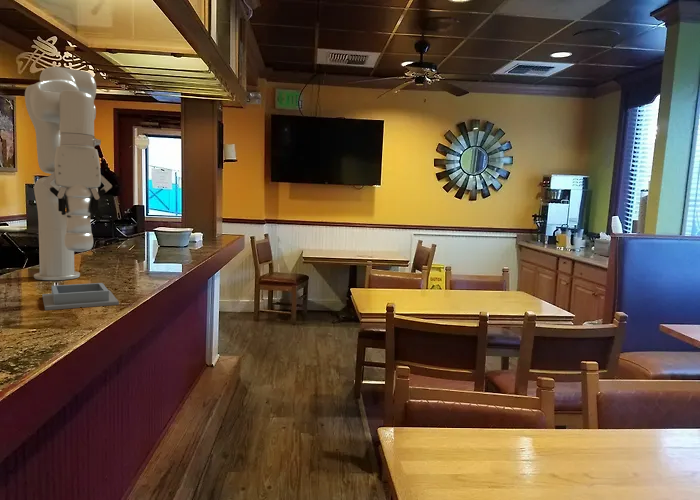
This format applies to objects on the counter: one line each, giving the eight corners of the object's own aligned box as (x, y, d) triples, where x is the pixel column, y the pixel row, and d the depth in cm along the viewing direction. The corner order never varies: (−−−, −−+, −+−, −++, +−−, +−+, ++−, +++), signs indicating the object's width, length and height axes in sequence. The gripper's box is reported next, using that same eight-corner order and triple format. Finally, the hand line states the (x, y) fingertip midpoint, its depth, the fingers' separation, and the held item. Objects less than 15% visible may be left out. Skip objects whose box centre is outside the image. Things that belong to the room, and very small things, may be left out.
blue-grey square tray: (42, 297, 132) (42, 284, 132) (109, 292, 141) (109, 281, 140) (45, 310, 119) (44, 296, 118) (118, 304, 127) (118, 291, 127)
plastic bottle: (99, 250, 131) (98, 173, 129) (82, 253, 125) (82, 172, 122) (75, 249, 132) (74, 172, 130) (58, 252, 125) (57, 171, 123)
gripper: (113, 146, 133) (113, 214, 135) (36, 140, 124) (38, 213, 126) (117, 144, 127) (118, 216, 129) (37, 138, 117) (39, 215, 119)
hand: (78, 214), depth 127 cm, fingers closed on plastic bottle, 6 cm apart
